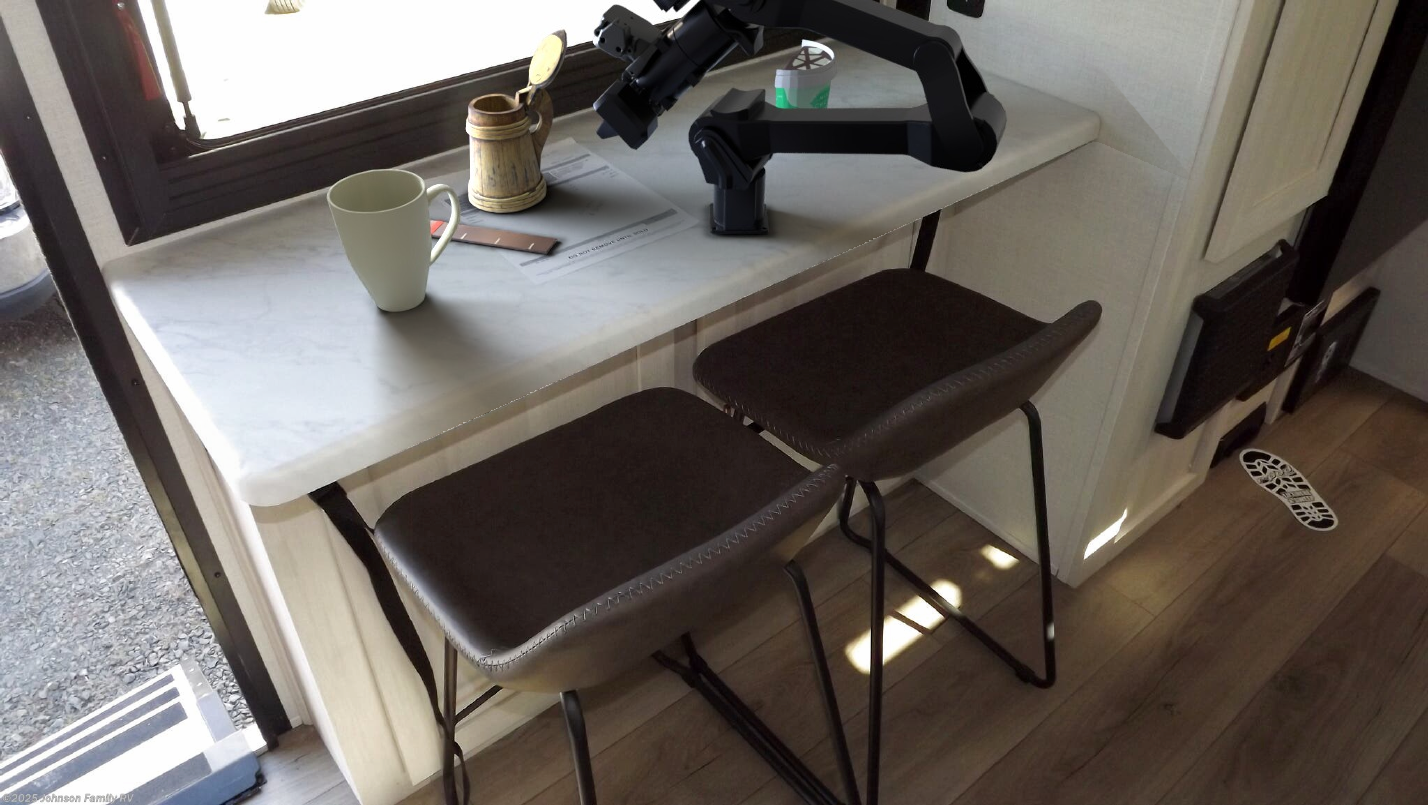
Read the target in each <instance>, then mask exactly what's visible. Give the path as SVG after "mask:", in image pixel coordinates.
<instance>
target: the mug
mask: <svg viewBox="0 0 1428 805" xmlns="http://www.w3.org/2000/svg"><path fill="white" fill-rule="evenodd" d="M442 193H447V194H448V197H449V199H450V202H451V216H450V219H449V222H448V223H449V224H448V226H447V228H446V230H445V232H444V233H443V235H442V237H441V238H439V240H438V241H437V243H436V244H435V246H434V247H433V242H432V241H433V240H432V238H433V237H431V225H430V220H431V218H430V206H431V204H432V203H433V201H434V200H435V199H436V198H437V197H438V196H439V195H441V194H442ZM326 200H327V203H328V206H329V209H330V213H331V215H332V219H333V222H334V225H335V229H336V231H337V234H338V236H339V240H340V244H341V245H342V248H343V251H344V254H345V255H346V259H347V260H348V263H349V264H350V266H351V268H352V269H353V271H354V273H355V275H356V276H357V278H358V279H359V281H360V283H361V284H362V285H363V287H364V288H365V290H366V291H367V293H368V294H369V296H370V297H371V299H372V301H373V302H374V303H375V305H376V306H377V307H378V308H379V309H381V310H382V311H386V312H392V313H394V312H395V313H396V312H397V313H398V312H404V311H408V310H411V309H412V310H413V309H414V308H416V307H418V306H419V305H420V304H422V302H424V300H425V298H426V291H427V285H428V280H429V279H428V278H429V273H430V267H432V265H434V263H436V261H437V260H438V259H439V258H440V257H441V255H442V253H443V252H445V250H446V248H447V246H448V245H449V244H450V243H451V241H452V240H451V239H452V237H453V236H454V234H455V232H456V230H457V228H458V225H459V224H460V223H461V222H460V221H461V216H462V208H461V203H460V199H459V197H458V194H457V193H456V191H455V190H454V189H453V188H451V187H450V186H448V185H447V184H442V183H438V184H435V185H432V186H430V187H429V188H427V183H426V182H425V180H424V179H423V178H422V177H421V176H420V175H419V174H417V173H414V172H411V171H408V170H402V169H395V168H394V169H393V168H392V169H391V168H385V169H384V168H383V169H382V168H381V169H371V170H366V171H363V172H358V173H355V174H351V175H349V176H347V177H345V178H343V179H340V180H339V181H337V182H336V183H334V184H333V185H332V186H331V187H330V188H329V190H328V191H327V194H326ZM432 247H433V248H432Z"/></svg>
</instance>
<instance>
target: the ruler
mask: <svg viewBox="0 0 1428 805" xmlns="http://www.w3.org/2000/svg"><path fill="white" fill-rule="evenodd" d="M448 224H449V222H446V221H441V220H431V219H430V225H431V237H432V238H436V239H440V238H441V237H442V235H443V233H444V232H445V230H446V228H447V226H448ZM450 241H455V242H463V243H470V244H476V245H482V246H489V247H496V248H504V249H510V250H515V251H516V250H517V251H523V252H528V253H529V252H530V253H537V254H544V255H547V254H548V253H549V252H550V250H551V249H552V248H553V247H554V245H556V243H557V242H558V238H557V237H556V238H555V237H549V236H542V235H536V234H529V233H521V232H515V231H508V230H501V229H494V228H487V227H481V226H474V225H466V224H460V223H459V225H458V228H457V230H456V232H455V234H454V236H453V237H452V239H451V240H450Z"/></svg>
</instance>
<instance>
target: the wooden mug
mask: <svg viewBox="0 0 1428 805" xmlns="http://www.w3.org/2000/svg"><path fill="white" fill-rule="evenodd" d="M567 49H568V35H567V32H566V30H565V29H558V30H556V31H554V32H552V33H550V34H549V35H548V36H546V37H545V38H543V40H541V42H540V43H539V44H538V46H537V48H536V50H535V52H534V54H533V56H532V58H531V61H530V65H529V70H528V83H527V85H526V87H525V88H522V89H520V90H517V91H516V93H515V96H514V95H513V96H512V95H510V94H506V93H491V94H490V93H489V94H485V95H481V96H477V97H475V98H473V99H472V100H471V101H470V102H469V103H468V115H467V117H466V124H465V125H466V127H465V130H466V132H467V134H468V135H469V160H470V161H469V162H470V164H469V165H470V169H469V170H470V179H469V181H468V200H469V202H470V203H471V204H472V206H473V207H475V208H477V209H479V210H482V211H486V212H491V213H492V212H493V213H504V214H505V213H514V212H519V211H523V210H526V209H528V208H531V207H533V206H535V205H537V204H538V203H540V202H541V201H542V200H543V199H544V198H545V197H546V194H547V181H546V178H545V176H544V175H545V174H543V172H542V171H541V163H542V162H541V161H542V153H543V150H544V147H545V144H546V142H547V140H548V137H549V134H550V131H551V129H552V126H553V122H554V107H553V102H552V98H551V97H550V95H549V93H548V91H547V90H546V88H547V87H548V86H549V85H551V83H552V82H553V81H554V80H555V78H556V77H557V75H558V73H559V72H560V70H561V68H562V66H563V63H564V61H565V58H566V53H567ZM529 111H534V112H536V113H537V115H538V117H539V121H538V124H537V126H536V128H535V129H533V130H532V131H530V129H531V127H532V121H533V119H532V116H531V115H530V114H528V113H527V112H529Z"/></svg>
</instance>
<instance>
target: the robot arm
mask: <svg viewBox="0 0 1428 805" xmlns="http://www.w3.org/2000/svg"><path fill="white" fill-rule="evenodd" d="M652 1H653V2H654V4H655V5H656V6H657V7H658V9H660V11H662V12H663V11H664V12H665V13H668V12H669V11H670V10H671V9H672V10H674V12H675V13H678V12H679V11H680V10H682V9H683V8H684V7H685V6H686V5H687V4H688V3H690V1H691V0H652ZM765 27H766V28H771V29H800V30H805V31H809V32H812V33H815V34H818V35H820V36H822V37H826V38H829V39H831V40H834V41H836V42H838V43H841V44H844V45H846V46H849V47H851V48H853V49H857V50H859V51H862V52H864V53H867V54H870V55H872V56H875V57H877V58H880V59H883V60H885V61H888V62H891V63H893V64H896V65H898V66H901V67H903V68H906V69H908V70H911V71H914V72H916V75H917V77H918V79H919V81H920V83H921V86H922V89H923V93H924V97H925V100H926V103H922V104H920V105H917V106H912V107H827V108H779V107H776V105H774V104H772V103H771V102H770V103H769V102H768V101H767V100H766V92H767V91H766V88H755V89H749V90H743V89H738V88H735V87H731V88H730V89H729V90H728V91H727V92H726V93H725V94H722V95H720V96H718V97H716V99H714V101H713V102H712V103H711V104H710V105H709V106H708V107H707V108H706V109H705V110H704V111H703V112H702V113H701V114H700V115H699V116H698V117H697V118H695V120H694V121H693V122H692V124H691V125H690V127H689V130H688V134H687V135H688V144H689V146H690V147H689V148H690V150H691V151H692V153H693V155H694V156H695V157H696V158H697V160H698V163H699V166H700V169H701V171H702V174H703V177H704V180H705V182H706V184H709V185H713V202H712V203H709V232H710V234H712V235H766V234H769V231H770V227H769V220H768V218H769V217H768V209H767V204H766V203H765V198H766V197H765V196H766V173H767V172H766V170H767V169H766V168H765V166H766V165H767V163H768V162H769V161H771V159H772V158H773V156H774V155H775V154H806V155H807V154H810V155H811V154H812V155H813V154H815V155H819V154H821V155H822V154H823V155H884V156H885V155H887V156H889V155H891V156H896V155H897V156H898V155H899V156H908V157H911V158H913V159H915V160H916V161H919V162H921V163H922V164H925V165H927V166H930V167H932V168H937V169H942V170H948V171H952V172H953V171H954V172H959V173H974V172H975V173H976V172H978V171H980V170H982V169H983V168H984V167H986V165H988V164H989V163H990V162H991V161H992V159H993V158H994V156H995V155H996V152H997V150H998V148H999V146H1000V143H1001V141H1002V138H1003V136H1004V133H1005V130H1006V126H1007V121H1008V119H1007V118H1008V117H1007V112H1006V110H1005V107H1004V106H1003V104H1002V103H1001V102H1000V100H998V99H997V97H995V95H994V94H992V93H990V92H989V89H988V87H987V84H986V82H985V80H984V77H983V75H982V73H981V72H980V70H979V69H978V67H977V66H976V65H975V63H974V62H973V60H972V59H971V57H970V55H969V54H968V53H967V51H966V49H965V46H964V44H963V41H962V39H961V36H960V34H959V33H958V32H957V31H956V30H955V29H954V28H953V27H951V26H949V25H945V24H937V23H933V22H930V21H928V20H926V19H923V18H920V17H918V16H915V15H912V14H910V13H907V12H905V11H902V10H899V9H897V8H894V7H891V6H888V5H886V4H883V3H880V2H878V1H876V0H698V1H697V2H696V3H695V4H694V5H693V6H692V7H691V8H690V9H689V10H688V11H687V12H686V13H685V14H684V15H683V16H682V17H681V18H680V19H679V20H678V21H677V22H676V23H674V24H671V23H670V24H668V25H667V27H665V28H664V29H663V30H661V29H659V28H658V27H656V26H655V25H653V24H652V22H651V21H649V20H648V19H645V18H644V17H642V16H641V15H639V14H637V13H636V12H633V11H632V10H630V9H628V8H626V7H625V6H623V5H621V4H613V5H611V6H610V7H609V8H608V9H607V10H606V11H605V12H604V13H603V14H602V16H601V19H600V21H599V24H598V25H597V27H596V28H594V30H593V36H594V37H593V39H592V43H593V44H594V46H595V47H596V48H598V49H600V50H602V51H603V52H605V53H606V54H608V55H610V56H612V57H613V58H615V59H621V60H622V61H624V62H626V63H630V64H629V65H628V66H627V67H626V68H625V70H624V71H623V72H622V73H621V80H620V79H619V78H617V79H616V80H615V81H614V82H613V83H612V84H611V85H610V86H609V87H608V88H607V89H606V90H605V91H604V92H603V93H602V94H601V95H600V96H599V98H597V99H596V101H595V102H594V103H593V108H594V111H595V112H596V114H598V116H600V118H601V119H602V122H601V123H600V125H599V126H598V128H597V130H596V131H595V133H596V135H597V136H598V137H599V138H600V139H601V140H607V139H610V138H614V137H619V138H620V139H621V140H622V141H623V142H624V143H625V145H627V147H629V148H630V149H632V150H634V151H637V150H638V149H639V148H640V147H641V146H642V145H643V144H645V143H646V142H647V141H648V140H649V139H650V138H651V136H652V135H653V134H654V132H655V131H656V130H657V128H658V127H659V117H661V116H663V114H664V113H665V112H668V111H670V110H671V109H672V108H673V107H674V106H675V104H677V102H678V101H679V99H680V98H681V97H682V96H684V94H685V93H687V91H689V90H690V89H691V88H695V87H696V86H697V85H698V84H700V82H701V81H702V79H704V77H705V75H706V74H708V73H709V72H710V71H711V70H712V69H713V68H714V67H715V66H716V65H717V64H718V63H719V62H721V61H722V60H723V59H724V58H725V57H727V55H728V54H729V53H730V52H732V50H734V49H735V48H736V47H737V46H738V45H739V46H740V47H741V49H742V50H743V51H744V52H745V54H746V55H747V56H748V57H751V58H752V57H754V56H755V55H756V54H757V53H758V52H759V50H761V49H762V48H763V46H764V34H763V32H764V28H765Z"/></svg>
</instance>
